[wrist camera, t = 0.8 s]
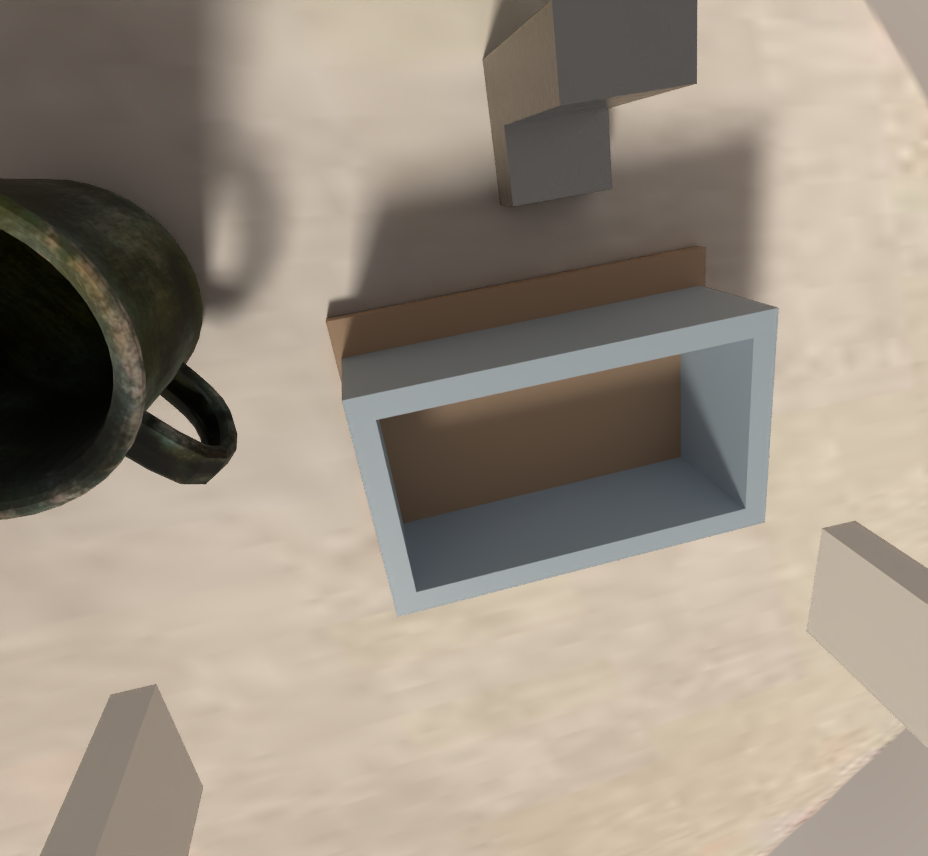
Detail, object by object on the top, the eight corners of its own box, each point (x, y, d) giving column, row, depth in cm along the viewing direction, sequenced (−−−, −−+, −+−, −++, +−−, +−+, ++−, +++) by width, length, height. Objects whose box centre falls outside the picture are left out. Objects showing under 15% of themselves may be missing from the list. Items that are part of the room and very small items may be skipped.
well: (326, 318, 31) (322, 355, 24) (697, 245, 33) (787, 261, 27) (388, 565, 37) (399, 648, 31) (695, 489, 40) (767, 551, 33)
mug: (34, 110, 25) (-196, 55, 14) (314, 326, 31) (301, 403, 20) (-95, 304, 27) (-385, 386, 16) (193, 475, 33) (120, 620, 22)
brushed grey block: (482, 59, 28) (551, -1, 19) (583, 44, 28) (697, -21, 19) (500, 204, 30) (568, 214, 21) (592, 188, 31) (696, 190, 22)
